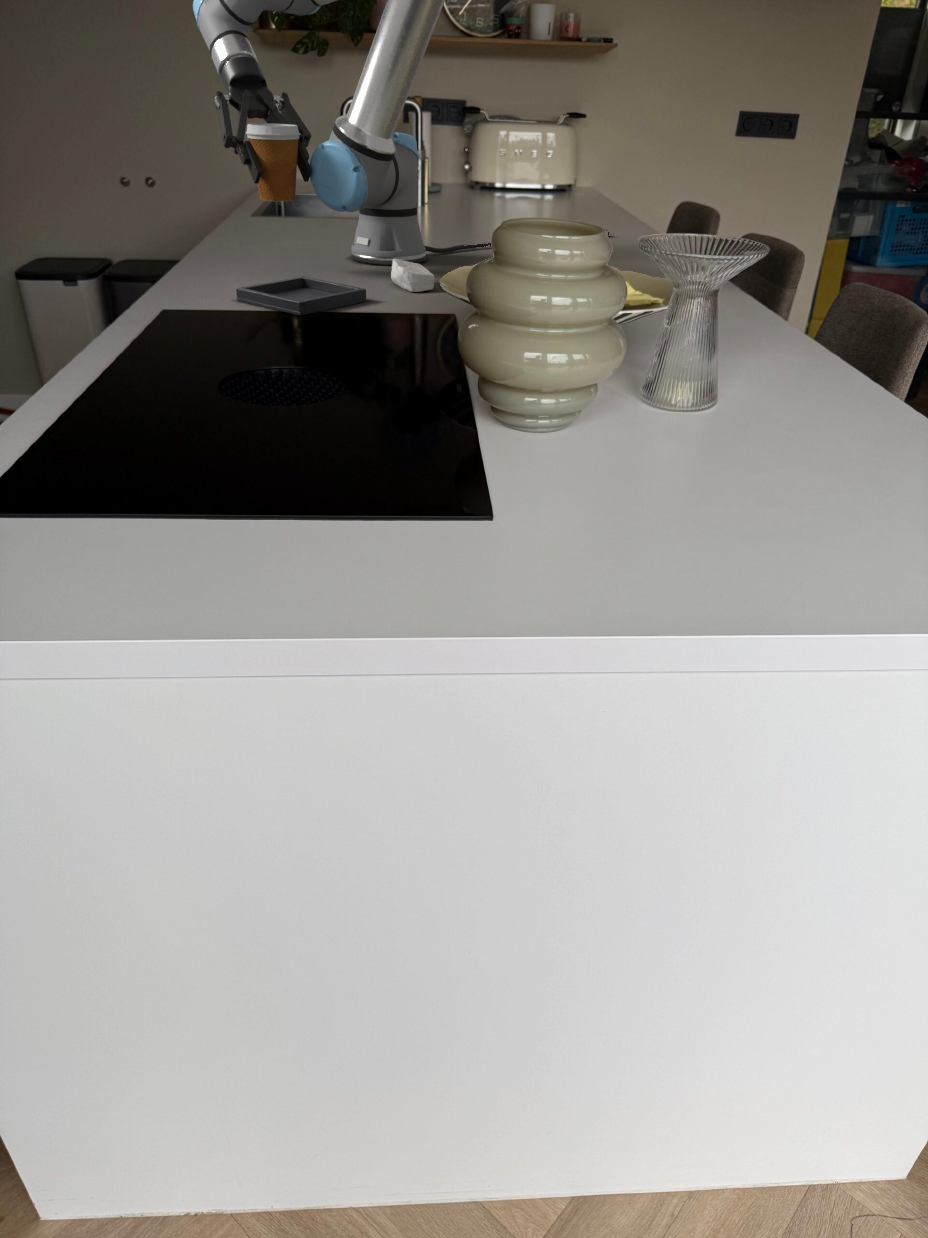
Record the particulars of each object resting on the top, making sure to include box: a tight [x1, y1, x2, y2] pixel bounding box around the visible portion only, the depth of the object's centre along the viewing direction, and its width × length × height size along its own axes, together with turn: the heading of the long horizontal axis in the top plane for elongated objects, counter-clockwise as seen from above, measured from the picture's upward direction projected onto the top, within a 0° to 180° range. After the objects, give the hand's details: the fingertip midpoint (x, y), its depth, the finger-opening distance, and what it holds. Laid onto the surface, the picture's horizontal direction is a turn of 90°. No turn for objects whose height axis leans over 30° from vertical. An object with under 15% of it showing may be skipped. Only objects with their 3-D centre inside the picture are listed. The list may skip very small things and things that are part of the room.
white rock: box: [390, 258, 435, 293], centre depth 163 cm, size 10×6×6 cm, turn 13°
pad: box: [235, 275, 367, 317], centre depth 151 cm, size 15×15×2 cm
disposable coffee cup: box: [245, 122, 300, 203], centre depth 163 cm, size 10×10×12 cm
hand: (283, 176), depth 162 cm, fingers closed on disposable coffee cup, 9 cm apart
